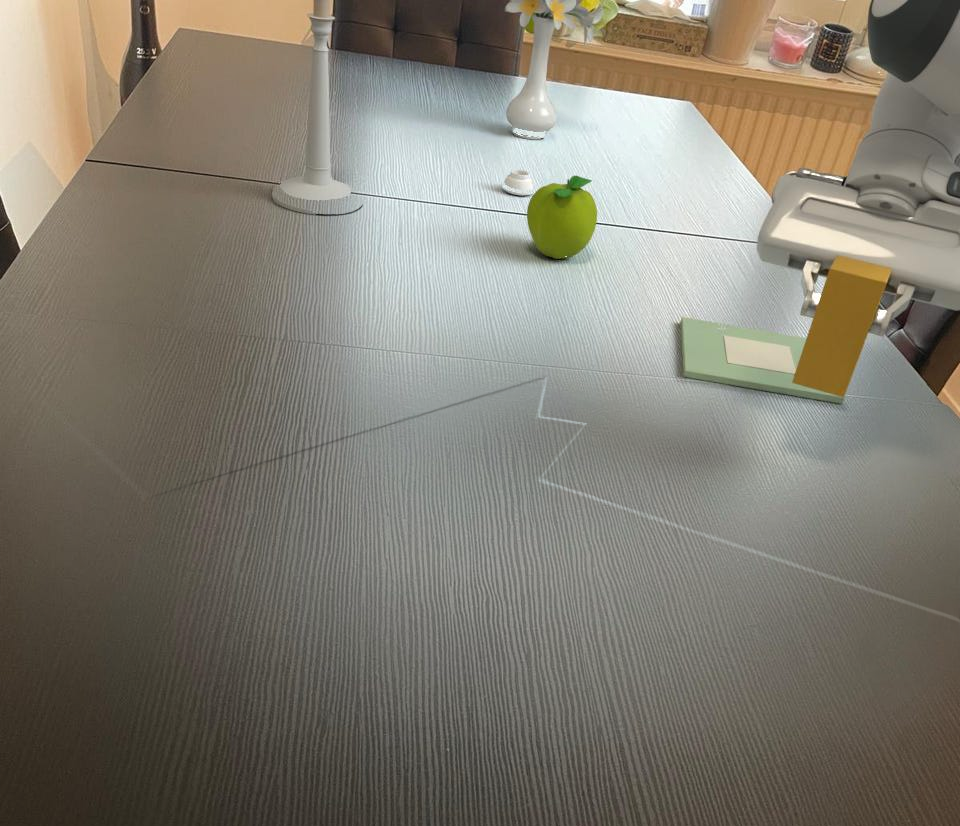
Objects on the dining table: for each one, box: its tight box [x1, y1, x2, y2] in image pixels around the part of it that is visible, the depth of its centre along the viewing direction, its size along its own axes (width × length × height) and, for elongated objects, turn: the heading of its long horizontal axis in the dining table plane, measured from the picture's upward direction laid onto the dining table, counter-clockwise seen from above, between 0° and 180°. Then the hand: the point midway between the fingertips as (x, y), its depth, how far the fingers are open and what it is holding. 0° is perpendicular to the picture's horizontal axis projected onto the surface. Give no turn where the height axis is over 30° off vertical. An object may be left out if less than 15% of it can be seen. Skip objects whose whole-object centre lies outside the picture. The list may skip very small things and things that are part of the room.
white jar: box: [501, 169, 535, 197], centre depth 160 cm, size 5×3×5 cm
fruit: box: [526, 175, 598, 260], centre depth 137 cm, size 9×9×10 cm
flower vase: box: [504, 0, 606, 141], centre depth 181 cm, size 13×18×25 cm
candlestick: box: [271, 0, 351, 216], centre depth 136 cm, size 13×13×30 cm
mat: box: [680, 316, 845, 405], centre depth 120 cm, size 18×16×1 cm
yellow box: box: [792, 255, 892, 397], centre depth 95 cm, size 5×5×11 cm
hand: (842, 323), depth 94 cm, fingers closed on yellow box, 5 cm apart
